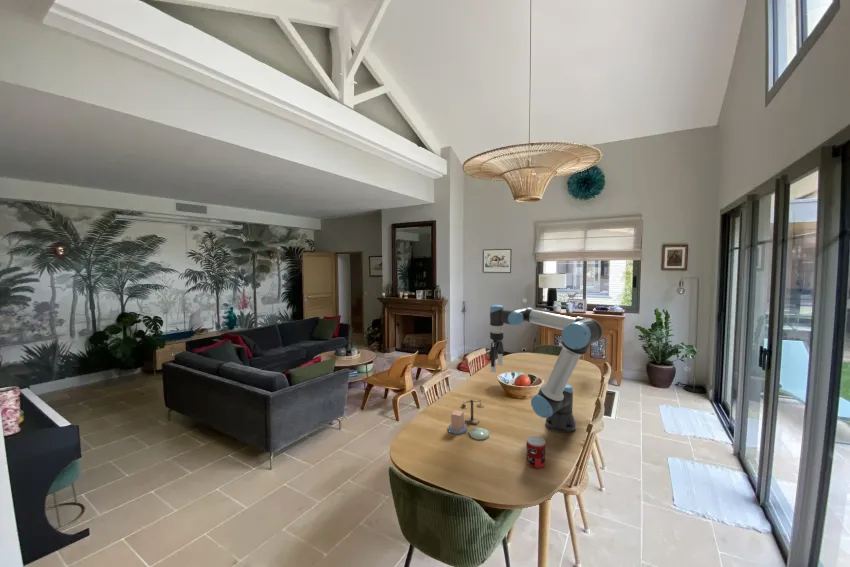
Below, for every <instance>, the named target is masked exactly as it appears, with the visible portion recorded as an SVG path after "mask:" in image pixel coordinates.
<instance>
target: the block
mask: <svg viewBox="0 0 850 567" xmlns="http://www.w3.org/2000/svg"><path fill="white" fill-rule="evenodd" d="M464 413H465V412H464V411H460V410H456V409H455V410H454V411H453V412H452V413H451V416H450V418H451V419H450V424H451V429H456V430H461V429H462V428H463V427H464V424H465V420H464V417H465V414H464Z"/></svg>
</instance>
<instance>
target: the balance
mask: <svg viewBox="0 0 850 567" xmlns="http://www.w3.org/2000/svg"><path fill="white" fill-rule="evenodd" d="M481 402H482V401H481V399H475V400H474V399H470V400H463V403H462V404H461V406H459V408H460V409H461V410H467V409H468V405H466V403H469V404H470V417H469V416H468V417H466V418H465V420H464V423H465V422H467V423H466V424H470V423H471V424H470V425H474V424H475V425H476V426H478V424H479V423H480V419H477V418H474V403H479V404H476V408H478V409H483V408H484V407H485V405H484V404H482V403H481ZM475 425H474V426H475Z"/></svg>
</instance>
